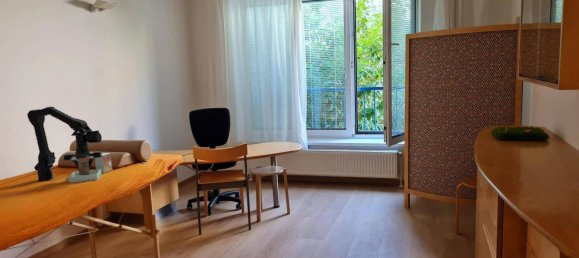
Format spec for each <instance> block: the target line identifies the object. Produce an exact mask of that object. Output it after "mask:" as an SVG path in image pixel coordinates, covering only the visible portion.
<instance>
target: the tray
mask: <svg viewBox="0 0 579 258" xmlns="http://www.w3.org/2000/svg"><path fill="white" fill-rule="evenodd" d="M100 175H102V173H101V169H98V170H96V169H91V173H90V174H89V175H80V176H79V170H78V171H73V172H72V173H71V174H70V175H69V176H68V177H67V178H68V180H67V181H68V183H69V184H71V183H80V182H81V183H82V182H89V181H98V180H99V178H101V176H100Z"/></svg>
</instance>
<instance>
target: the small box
mask: <svg viewBox="0 0 579 258" xmlns="http://www.w3.org/2000/svg"><path fill="white" fill-rule="evenodd" d="M94 164H95V170H98V169H101V174H106V173H108V172H112V171H113V163H112V154H111V152H110V153H107V152H105V153H103V152H102V156H101V157H99V158H95V159H94ZM111 170H112V171H111Z"/></svg>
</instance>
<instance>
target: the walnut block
mask: <svg viewBox="0 0 579 258" xmlns="http://www.w3.org/2000/svg"><path fill="white" fill-rule="evenodd" d="M78 167H79V170H78V171H79V176H80V175H89V174H90V173H91V170H92V169H91V170H89V160H82V161H81V160H79V163H78Z"/></svg>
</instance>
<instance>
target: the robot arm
mask: <svg viewBox="0 0 579 258" xmlns="http://www.w3.org/2000/svg"><path fill="white" fill-rule="evenodd" d="M26 116H27V119H28V121H29V123H30V124H31V125H32V126H33V129H34V134H35V138H36V143H37V147H38V151H39V152H38V155H37V163H36V164H35V165H34V168H33V169H34V170H35V171H36V173H37V178H38V179H37V182H44V181H51V180H52V179H54V173H53V170H52V168H53V166H54V164H55V162H56V159H57V158H56V155H55V154H56V153H55V152H54V151H51V150H50V147H49V143H48V139H47V134H46V133H47V132H46V130H45V126H44V125H45V122H46V121H45V120H46V117H47V116H51V117H53V118H55V119H56V120H59V121H60V122H63V123H65V124H66V125H67V126H68V127H69V129H71V130H73V132H72V133H71V135H70V136H72V137H74V136H75V147H76V150H75V154H74V153H66V154H65V155H63V161H71V162H73V163H74V165H76V168H77V170H78V171H79V167H78V163H79V162H80V160H79V159H86V158H88V161H89V170H92V169H91V168H92V165H93V163H94V161H95V158H99V157H101V156H102V153H103V152H102V151H101V150H98V151H93V152H91V151H90V149H89V144H97V143H98V144H99V143H101V142H102V138H103V136H102V135H101V132H100V131H99V130H92V129H91V128H90V127H89V125H88V122H87V121H86V120H84V119H80V118H76V117H72V116H71V115H69V114H67V113H65V112H63V111H61V110H60V109H57V108H55V107H54V106H46V107H44V108H41V109H40V108H39V109H38V108H37V109H30V110H29V111H28V112H27V115H26ZM88 143H89V144H88Z"/></svg>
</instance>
